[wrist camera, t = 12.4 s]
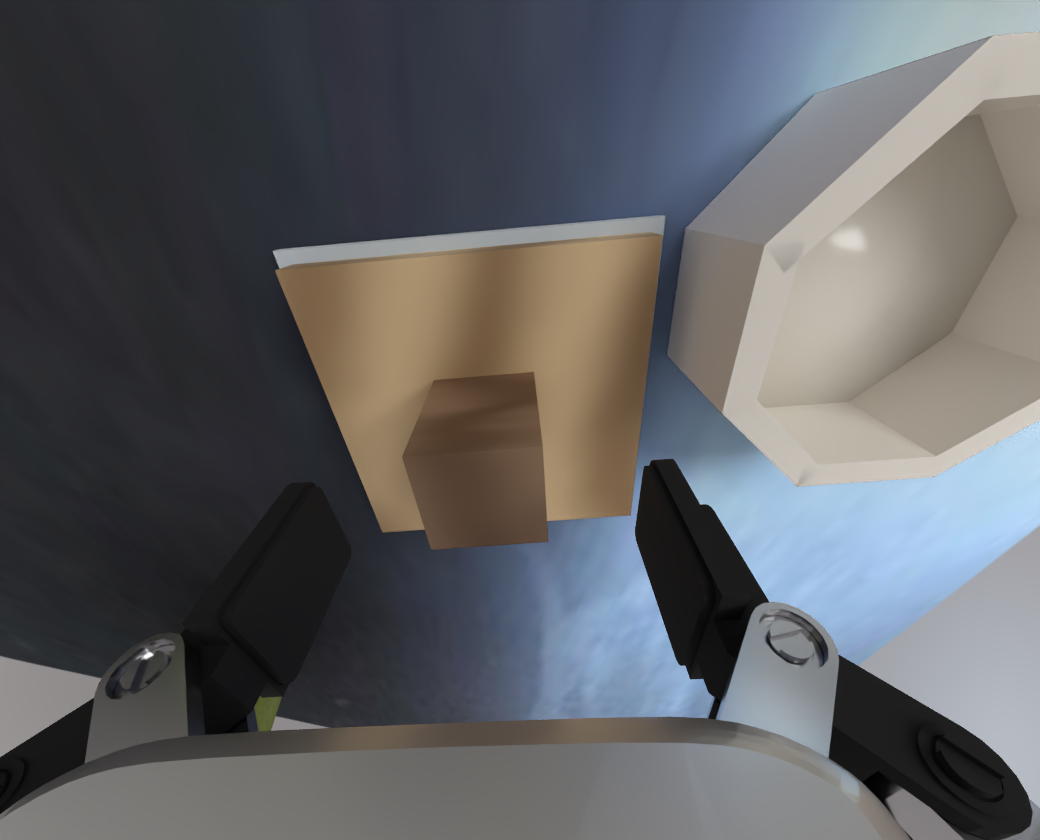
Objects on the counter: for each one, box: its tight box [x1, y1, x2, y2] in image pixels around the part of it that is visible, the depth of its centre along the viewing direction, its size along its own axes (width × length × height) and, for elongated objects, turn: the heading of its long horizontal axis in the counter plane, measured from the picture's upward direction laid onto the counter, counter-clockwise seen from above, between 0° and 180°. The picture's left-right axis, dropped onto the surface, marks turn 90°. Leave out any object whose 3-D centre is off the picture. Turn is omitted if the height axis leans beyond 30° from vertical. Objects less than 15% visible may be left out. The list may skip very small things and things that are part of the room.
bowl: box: [667, 31, 1040, 486], centre depth 12 cm, size 12×12×5 cm
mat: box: [273, 215, 666, 421], centre depth 17 cm, size 14×14×1 cm
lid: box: [275, 232, 663, 550], centre depth 14 cm, size 13×13×6 cm
